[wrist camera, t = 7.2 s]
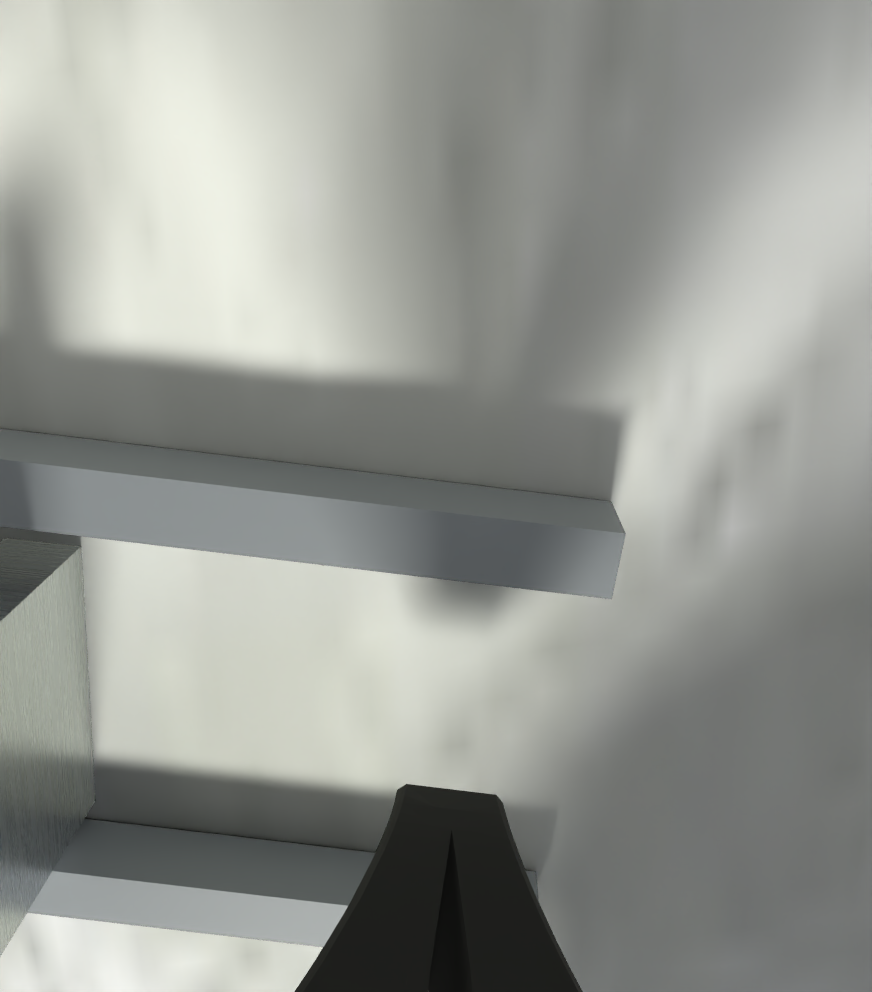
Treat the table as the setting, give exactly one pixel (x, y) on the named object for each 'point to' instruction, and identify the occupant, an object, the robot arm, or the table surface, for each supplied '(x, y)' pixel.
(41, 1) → the table surface
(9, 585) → the spool
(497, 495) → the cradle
